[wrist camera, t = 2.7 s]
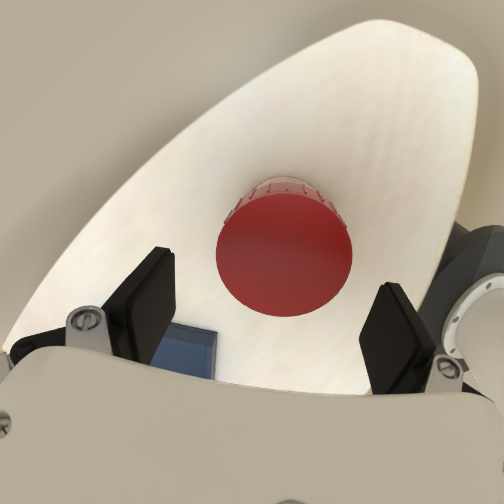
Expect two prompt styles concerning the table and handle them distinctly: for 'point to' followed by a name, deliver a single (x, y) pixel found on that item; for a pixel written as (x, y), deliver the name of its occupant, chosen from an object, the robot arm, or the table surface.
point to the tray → (187, 351)
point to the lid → (284, 250)
